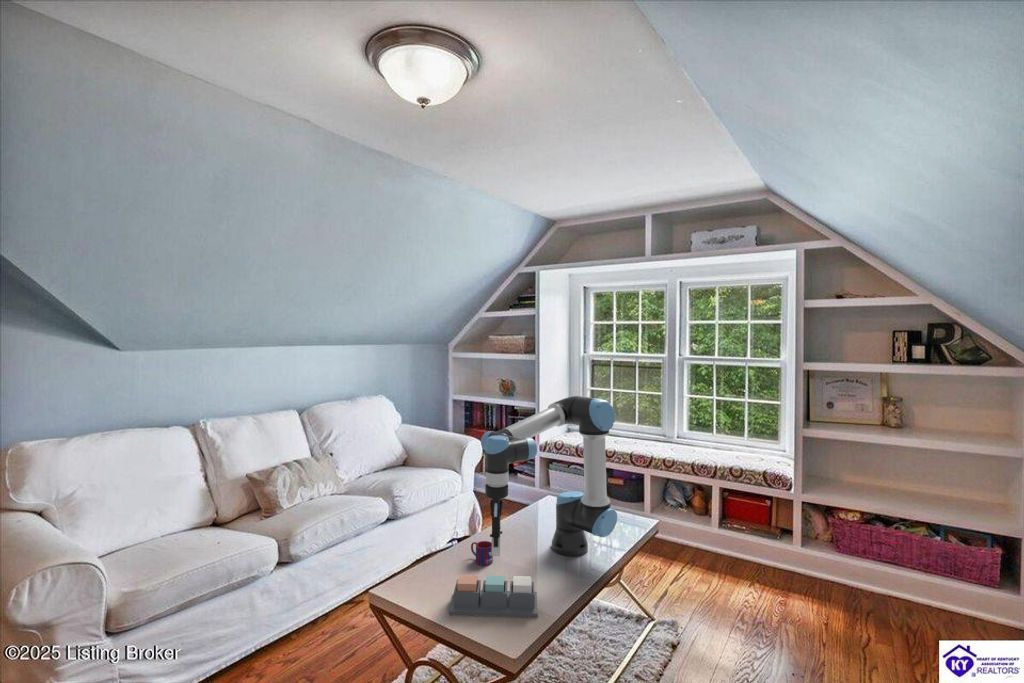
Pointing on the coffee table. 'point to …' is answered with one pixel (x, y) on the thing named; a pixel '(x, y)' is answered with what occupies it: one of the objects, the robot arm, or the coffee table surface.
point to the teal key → (494, 583)
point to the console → (494, 602)
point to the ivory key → (522, 584)
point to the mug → (483, 553)
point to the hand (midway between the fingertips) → (495, 555)
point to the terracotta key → (467, 583)
